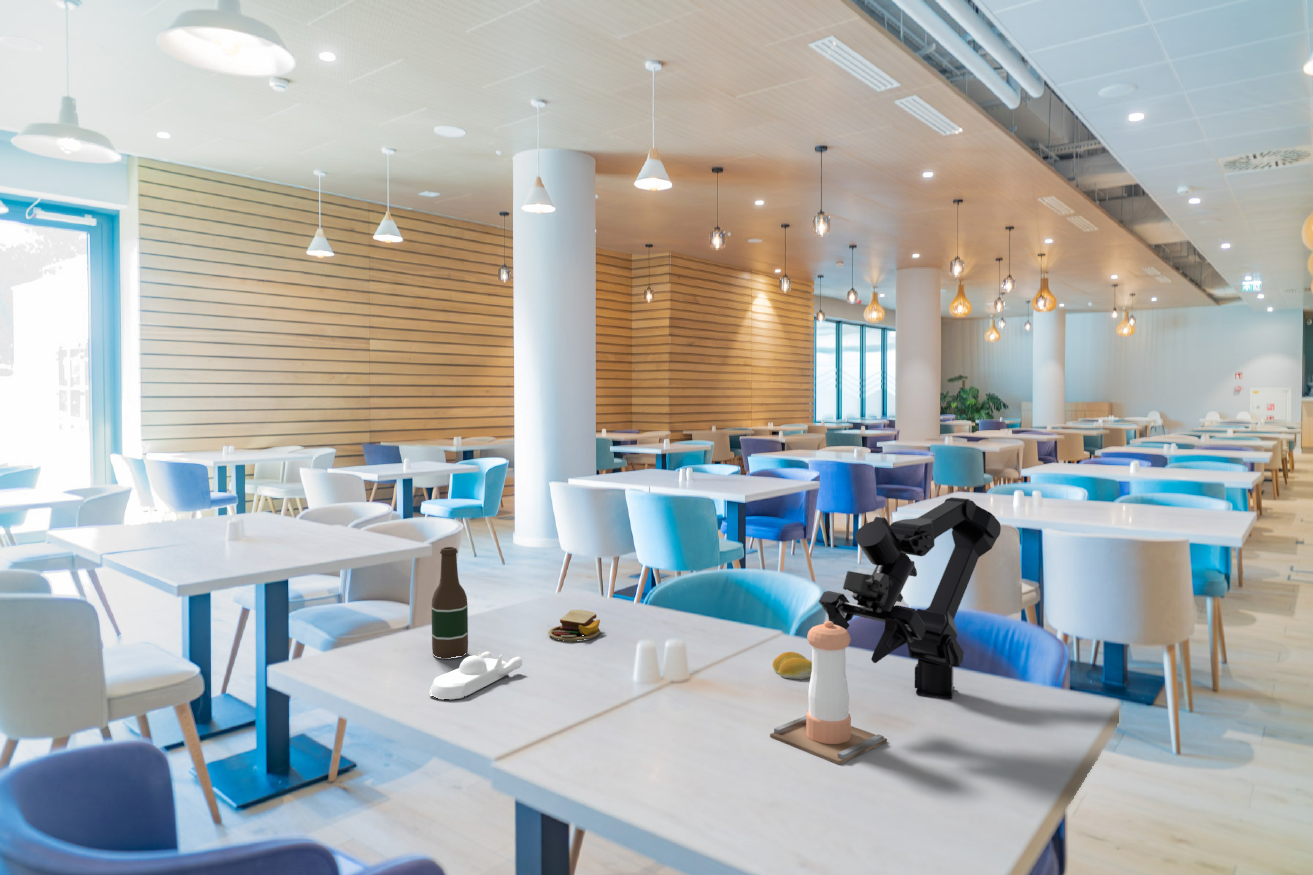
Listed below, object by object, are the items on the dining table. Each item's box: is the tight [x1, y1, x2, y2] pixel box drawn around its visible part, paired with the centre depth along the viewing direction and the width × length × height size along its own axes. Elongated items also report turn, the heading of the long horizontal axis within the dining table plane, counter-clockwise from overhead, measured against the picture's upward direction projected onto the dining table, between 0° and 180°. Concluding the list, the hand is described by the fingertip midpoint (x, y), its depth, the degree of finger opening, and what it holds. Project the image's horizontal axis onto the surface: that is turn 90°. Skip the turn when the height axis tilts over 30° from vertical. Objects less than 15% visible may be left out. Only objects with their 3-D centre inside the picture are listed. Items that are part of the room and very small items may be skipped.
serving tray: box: [769, 715, 888, 765], centre depth 136 cm, size 13×14×1 cm
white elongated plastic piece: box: [428, 650, 523, 700], centre depth 163 cm, size 10×20×6 cm, turn 152°
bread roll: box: [772, 651, 812, 680], centre depth 169 cm, size 8×9×4 cm
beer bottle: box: [431, 546, 469, 658], centre depth 182 cm, size 8×8×24 cm
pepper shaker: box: [805, 620, 852, 744], centre depth 136 cm, size 7×7×19 cm
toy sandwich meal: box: [547, 609, 601, 642], centre depth 198 cm, size 12×14×5 cm
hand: (850, 655), depth 139 cm, fingers open, 9 cm apart
